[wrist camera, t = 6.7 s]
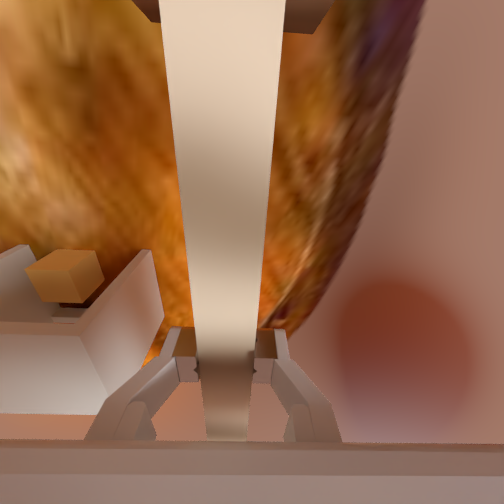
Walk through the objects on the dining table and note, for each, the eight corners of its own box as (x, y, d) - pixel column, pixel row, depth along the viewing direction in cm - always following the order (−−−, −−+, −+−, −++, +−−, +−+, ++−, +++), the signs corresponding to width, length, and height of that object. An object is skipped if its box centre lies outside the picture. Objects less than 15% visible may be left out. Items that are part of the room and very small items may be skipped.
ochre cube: (105, 279, 32) (82, 303, 28) (70, 278, 32) (42, 301, 28) (94, 250, 30) (68, 270, 25) (57, 248, 30) (24, 269, 25)
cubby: (164, 316, 36) (118, 415, 23) (56, 312, 35) (-50, 412, 23) (150, 249, 30) (79, 336, 17) (19, 244, 29) (-153, 329, 17)
